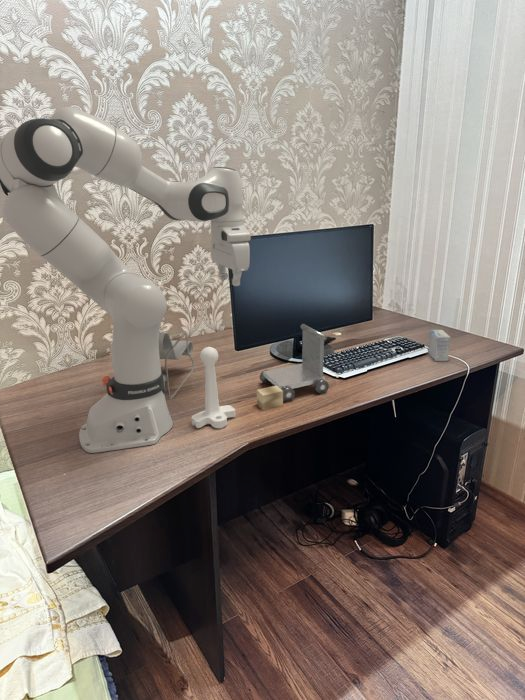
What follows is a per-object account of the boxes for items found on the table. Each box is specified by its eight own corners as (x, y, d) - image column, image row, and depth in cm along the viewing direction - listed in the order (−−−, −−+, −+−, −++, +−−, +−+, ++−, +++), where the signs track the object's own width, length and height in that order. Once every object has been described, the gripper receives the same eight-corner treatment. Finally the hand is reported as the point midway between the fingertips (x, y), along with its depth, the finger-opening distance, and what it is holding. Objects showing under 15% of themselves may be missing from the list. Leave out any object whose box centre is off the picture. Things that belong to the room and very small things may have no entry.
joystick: (227, 410, 124) (224, 340, 117) (242, 422, 118) (239, 349, 111) (189, 422, 119) (183, 349, 112) (202, 435, 113) (197, 358, 106)
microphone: (330, 346, 179) (296, 353, 165) (328, 331, 179) (294, 337, 165) (342, 345, 175) (308, 352, 161) (340, 330, 175) (305, 336, 161)
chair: (124, 400, 131) (115, 334, 125) (156, 366, 155) (150, 309, 148) (169, 402, 129) (162, 336, 123) (195, 368, 152) (191, 310, 146)
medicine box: (448, 361, 154) (451, 336, 151) (434, 361, 154) (437, 337, 151) (440, 353, 162) (443, 329, 159) (427, 353, 162) (429, 329, 159)
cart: (282, 403, 128) (282, 344, 122) (259, 383, 140) (258, 329, 134) (328, 392, 134) (330, 336, 127) (302, 374, 146) (303, 322, 140)
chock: (263, 410, 124) (262, 395, 123) (257, 404, 128) (256, 389, 126) (283, 406, 127) (283, 391, 125) (276, 400, 130) (276, 385, 128)
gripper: (204, 229, 132) (206, 276, 137) (230, 236, 115) (232, 290, 120) (224, 227, 135) (226, 274, 140) (253, 234, 118) (254, 288, 122)
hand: (229, 282), depth 130 cm, fingers open, 8 cm apart
